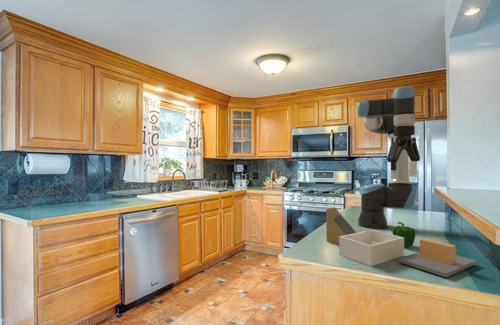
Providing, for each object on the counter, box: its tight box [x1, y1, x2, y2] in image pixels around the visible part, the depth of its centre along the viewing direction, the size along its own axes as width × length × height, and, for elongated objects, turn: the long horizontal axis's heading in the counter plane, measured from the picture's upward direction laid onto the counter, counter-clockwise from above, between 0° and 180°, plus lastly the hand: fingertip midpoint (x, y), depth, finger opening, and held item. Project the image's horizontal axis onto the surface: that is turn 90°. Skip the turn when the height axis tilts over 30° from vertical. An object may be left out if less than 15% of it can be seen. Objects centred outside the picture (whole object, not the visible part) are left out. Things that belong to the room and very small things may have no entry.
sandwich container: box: [325, 206, 357, 246], centre depth 120 cm, size 9×15×15 cm, turn 47°
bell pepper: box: [391, 221, 416, 248], centre depth 116 cm, size 8×8×10 cm
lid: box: [398, 237, 477, 278], centre depth 95 cm, size 21×15×8 cm
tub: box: [338, 229, 405, 267], centre depth 105 cm, size 20×14×7 cm
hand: (404, 177), depth 111 cm, fingers open, 13 cm apart
